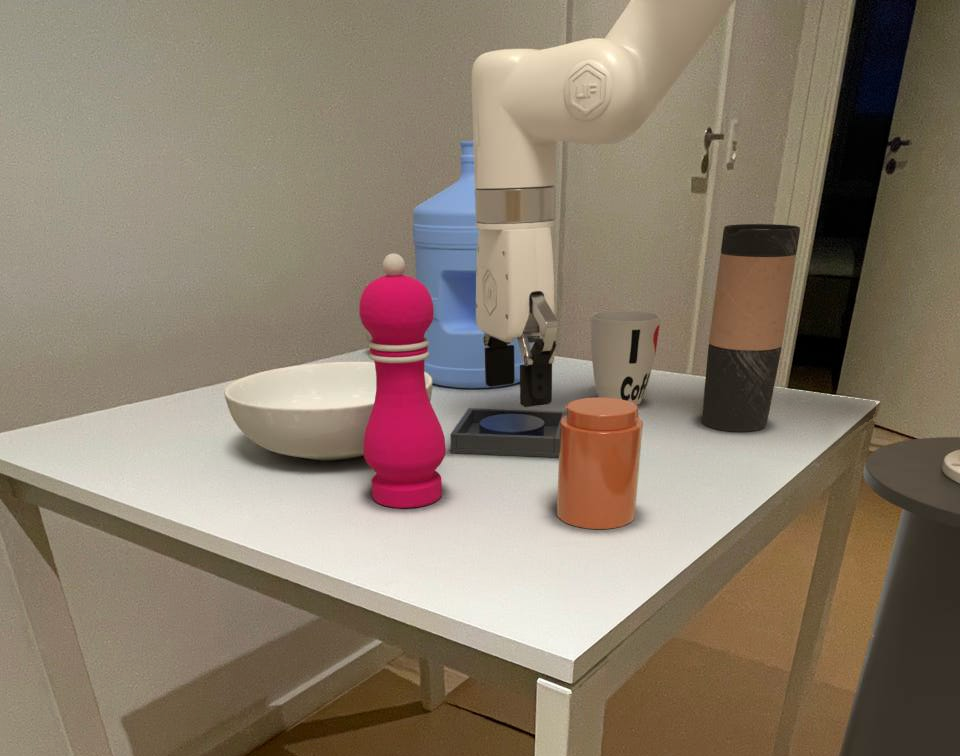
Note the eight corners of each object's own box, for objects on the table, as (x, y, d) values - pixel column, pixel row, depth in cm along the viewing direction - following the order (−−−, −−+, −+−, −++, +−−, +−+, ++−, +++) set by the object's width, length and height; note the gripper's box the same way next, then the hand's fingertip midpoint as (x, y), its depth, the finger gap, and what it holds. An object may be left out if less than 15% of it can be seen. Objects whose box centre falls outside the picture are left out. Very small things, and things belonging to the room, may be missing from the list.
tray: (567, 429, 94) (568, 411, 92) (559, 457, 85) (560, 438, 84) (468, 425, 95) (468, 407, 94) (451, 453, 87) (450, 434, 86)
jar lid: (473, 444, 87) (473, 430, 87) (484, 426, 93) (484, 412, 92) (540, 447, 86) (540, 432, 86) (547, 428, 92) (547, 414, 91)
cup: (624, 413, 99) (631, 324, 94) (573, 401, 104) (576, 316, 99) (666, 401, 103) (674, 315, 98) (615, 390, 109) (620, 308, 104)
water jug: (397, 374, 117) (384, 142, 103) (486, 359, 126) (484, 142, 112) (463, 396, 107) (458, 139, 93) (555, 378, 115) (564, 139, 101)
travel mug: (773, 418, 96) (805, 224, 86) (763, 436, 90) (796, 230, 80) (706, 411, 99) (730, 223, 89) (692, 428, 93) (716, 228, 83)
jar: (635, 502, 74) (644, 397, 69) (634, 531, 68) (644, 418, 64) (560, 498, 75) (564, 394, 70) (553, 527, 69) (557, 415, 65)
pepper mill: (389, 479, 80) (373, 248, 70) (459, 487, 77) (453, 250, 67) (352, 504, 74) (329, 257, 64) (427, 515, 72) (415, 259, 62)
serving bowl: (394, 412, 100) (390, 352, 97) (466, 461, 84) (465, 392, 81) (217, 435, 93) (206, 371, 89) (259, 494, 76) (247, 419, 73)
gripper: (448, 209, 85) (456, 381, 93) (513, 216, 71) (515, 418, 79) (517, 205, 87) (518, 374, 96) (593, 211, 73) (587, 409, 81)
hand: (517, 394), depth 87 cm, fingers open, 9 cm apart
